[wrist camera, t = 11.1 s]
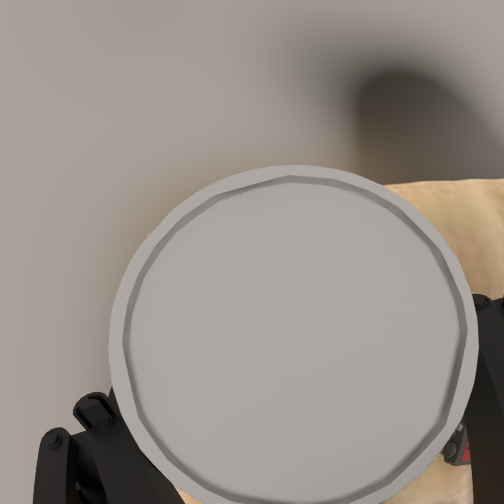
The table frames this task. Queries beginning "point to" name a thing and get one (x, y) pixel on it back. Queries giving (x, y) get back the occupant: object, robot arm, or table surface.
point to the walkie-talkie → (458, 446)
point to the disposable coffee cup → (293, 340)
